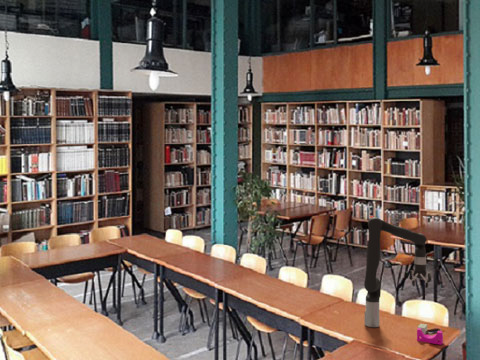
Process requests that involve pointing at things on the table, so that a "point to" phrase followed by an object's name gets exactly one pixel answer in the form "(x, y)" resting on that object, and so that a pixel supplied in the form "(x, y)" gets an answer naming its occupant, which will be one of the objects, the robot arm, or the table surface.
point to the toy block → (430, 337)
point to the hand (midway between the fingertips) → (420, 286)
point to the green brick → (423, 327)
